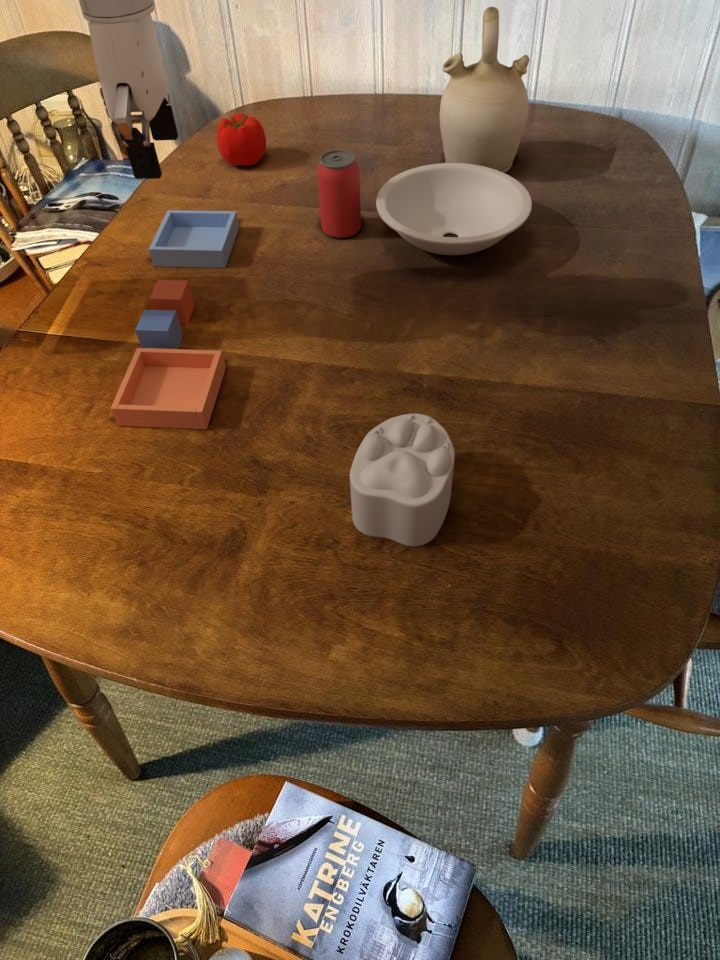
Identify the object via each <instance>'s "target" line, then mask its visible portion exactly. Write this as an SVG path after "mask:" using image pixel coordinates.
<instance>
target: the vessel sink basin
mask: <svg viewBox="0 0 720 960" xmlns="http://www.w3.org/2000/svg"><path fill="white" fill-rule="evenodd" d="M375 207H376V210H377V213H378V216H379V217H380V218H381V220H382V221H383V222H384V223H385V224H386V225H387V226H388V227H390V228H391V229H393V230H394V231H395V232H396V233H397V234H398V235H399V236H400V237H402V239H404V240H405V241H406V242H407V243H409V244H410V245H412V246H414V247H416V248H418V249H420V250H422V251H425V252H428V253H432V254H435V255H442V256H461V255H462V256H463V255H470V254H474V253H478V252H480V251H484V250H486V249H489V248H490V247H492V246H494V245H496V244H498V243H499V242H500V241H501V240H503V239H504V238H505V237H506V236H508V235H510V234H511V233H513V232H515V231H516V230H518V229H520V227H522V226H523V225H524V224H525V222H526V221H527V220H528V218H529V217H530V215H531V213H532V207H533V203H532V197H531V194H530V192H529V191H528V190H527V188H526V187H525V186H524V185H523V184H522V183H521V182H520V181H518V179H515V178H514V177H512V176H511V175H509V174H507V173H503V172H500V171H498V170H495V169H492V168H488V167H484V166H479V165H473V164H465V163H446V162H441V163H432V164H426V165H420V166H417V167H414V168H410V169H407V170H404V171H402V172H400V173H398V174H396V175H394V176H393V177H391V178H389V180H387V181H386V182H385V183H384V184H382V186H381V187H380V189H379V190H378V193H377V196H376V200H375ZM448 234H453V235H456V236H457V237H455V236H453V237H451V236H445V235H448Z"/></svg>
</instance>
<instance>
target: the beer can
mask: <svg viewBox="0 0 720 960" xmlns="http://www.w3.org/2000/svg"><path fill="white" fill-rule="evenodd" d="M356 158H357V157H356V155H355V154H354V153H353V152H351V151H349V150H346V149H331V150H328V151H326V152H324V153H322V154H321V155H320V157H319V163H318V166H317V174H316V176H317V189H318V202H319V213H320V215H319V216H320V226H321V230H322V232H323V233H324V234H325V235H326V236H329V237H331V238H335V239H346V238H350V237H352V236H355V235H356V234H358V233H359V231H360V230H361V228H362V213H361V212H362V211H361V210H362V209H361V208H362V207H361V180H360V177H361V176H360V167H359V165H358V163H357V160H356Z"/></svg>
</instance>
